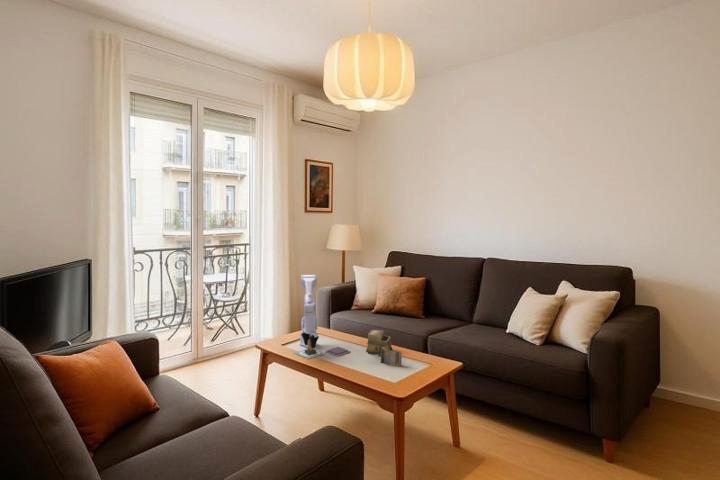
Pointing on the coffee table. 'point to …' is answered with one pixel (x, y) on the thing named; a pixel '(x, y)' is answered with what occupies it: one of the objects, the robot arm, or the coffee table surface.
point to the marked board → (303, 354)
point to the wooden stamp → (310, 349)
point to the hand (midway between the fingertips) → (309, 346)
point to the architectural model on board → (391, 357)
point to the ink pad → (337, 351)
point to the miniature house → (378, 342)
